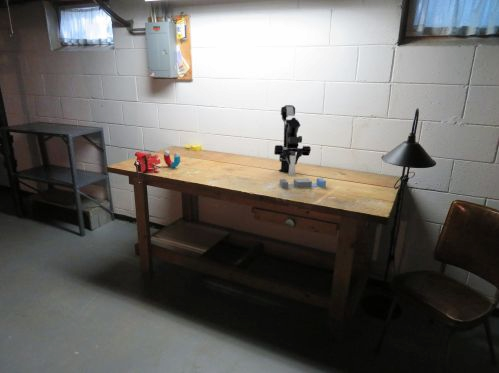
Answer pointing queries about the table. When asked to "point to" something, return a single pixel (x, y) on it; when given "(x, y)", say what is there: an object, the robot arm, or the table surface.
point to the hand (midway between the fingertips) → (292, 164)
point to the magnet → (168, 160)
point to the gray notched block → (303, 183)
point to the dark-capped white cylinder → (292, 163)
